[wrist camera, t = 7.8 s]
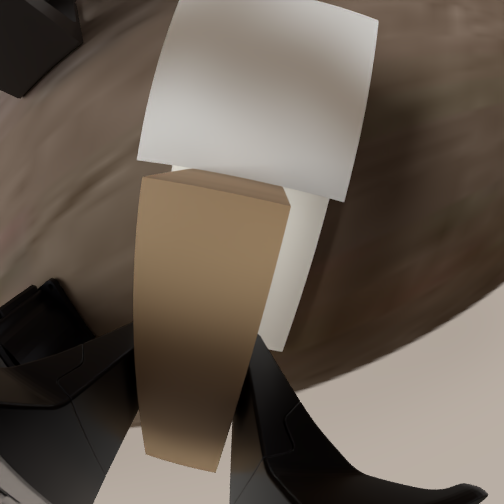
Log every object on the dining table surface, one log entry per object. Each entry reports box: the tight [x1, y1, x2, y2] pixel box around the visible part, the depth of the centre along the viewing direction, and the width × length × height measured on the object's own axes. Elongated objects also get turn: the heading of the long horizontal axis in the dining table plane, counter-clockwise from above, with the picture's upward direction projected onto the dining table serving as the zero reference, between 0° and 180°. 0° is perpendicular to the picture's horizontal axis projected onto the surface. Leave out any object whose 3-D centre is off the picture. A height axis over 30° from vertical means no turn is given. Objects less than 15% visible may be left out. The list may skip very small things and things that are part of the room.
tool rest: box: [172, 165, 330, 352], centre depth 13 cm, size 15×7×1 cm, turn 168°
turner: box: [133, 0, 378, 473], centre depth 7 cm, size 15×6×4 cm, turn 168°
